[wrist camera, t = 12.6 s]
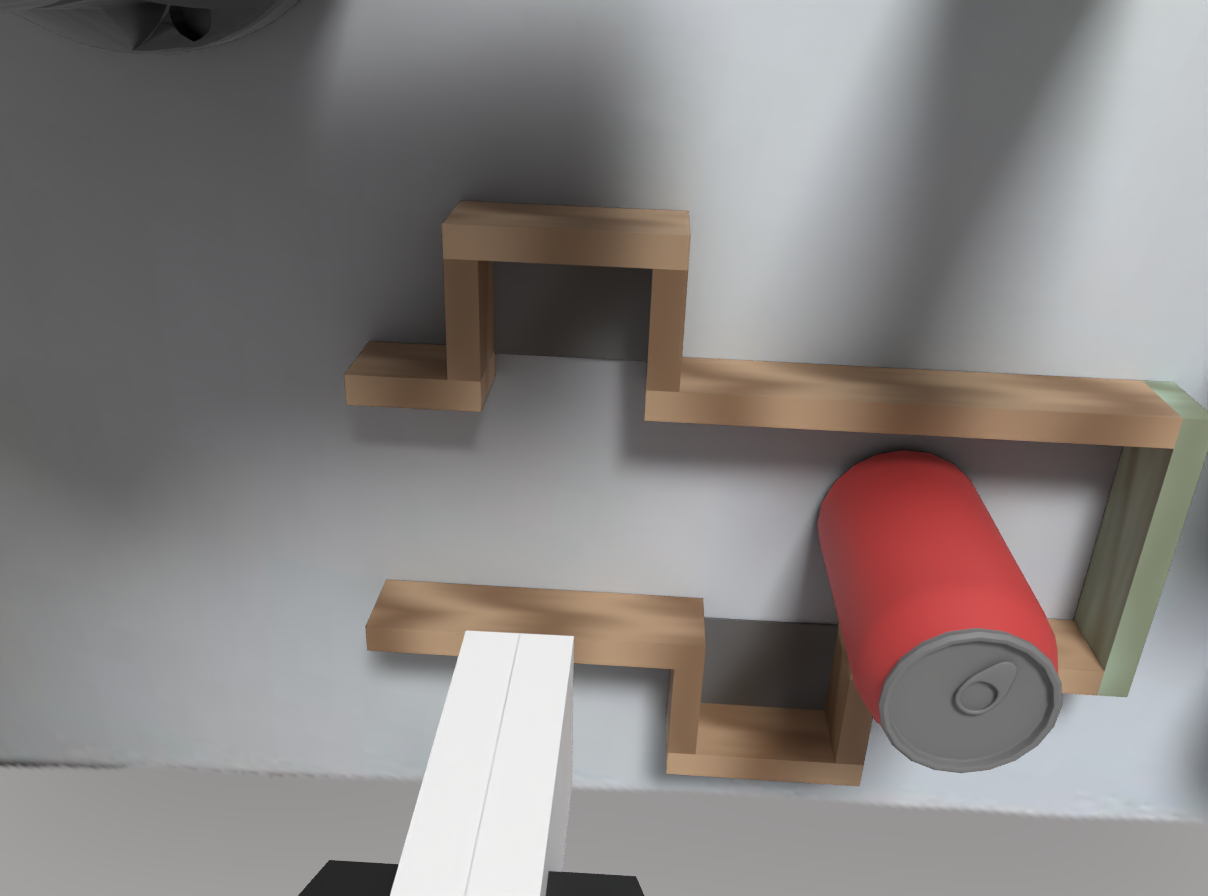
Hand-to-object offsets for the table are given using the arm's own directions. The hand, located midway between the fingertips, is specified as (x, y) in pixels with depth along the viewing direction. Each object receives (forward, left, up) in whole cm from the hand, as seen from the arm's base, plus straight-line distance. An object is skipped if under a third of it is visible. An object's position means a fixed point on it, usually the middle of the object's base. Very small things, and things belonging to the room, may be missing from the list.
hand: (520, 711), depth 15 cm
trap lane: (+10, -7, -26) cm, 29 cm away
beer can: (+16, -4, -27) cm, 31 cm away
